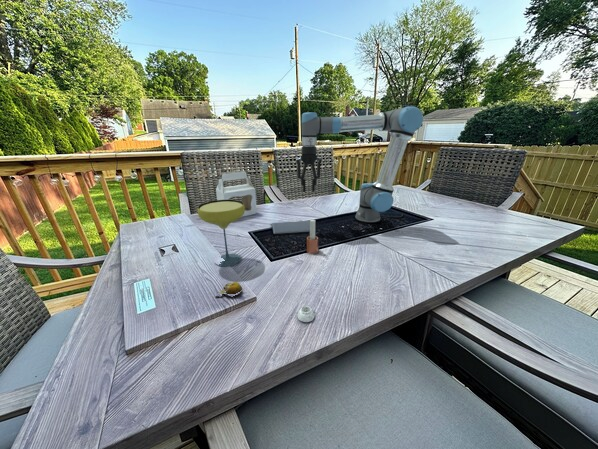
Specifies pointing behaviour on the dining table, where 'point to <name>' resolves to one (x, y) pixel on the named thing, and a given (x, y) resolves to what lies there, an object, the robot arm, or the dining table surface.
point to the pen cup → (312, 245)
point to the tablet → (291, 227)
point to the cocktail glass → (222, 221)
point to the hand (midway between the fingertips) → (308, 191)
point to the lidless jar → (305, 314)
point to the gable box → (238, 191)
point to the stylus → (312, 229)
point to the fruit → (231, 289)
